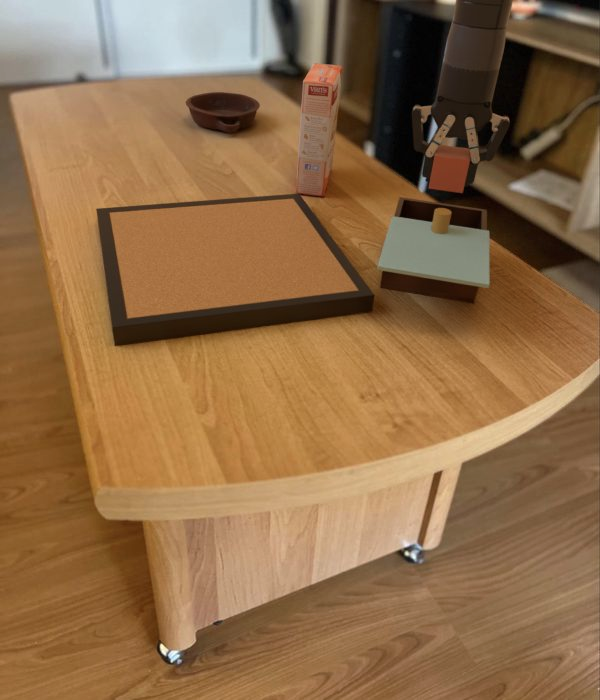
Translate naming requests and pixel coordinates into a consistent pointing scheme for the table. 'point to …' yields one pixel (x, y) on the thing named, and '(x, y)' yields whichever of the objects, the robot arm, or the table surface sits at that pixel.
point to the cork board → (222, 267)
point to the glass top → (437, 250)
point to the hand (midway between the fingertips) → (446, 182)
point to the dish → (223, 110)
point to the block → (450, 168)
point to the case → (425, 285)
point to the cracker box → (318, 128)
